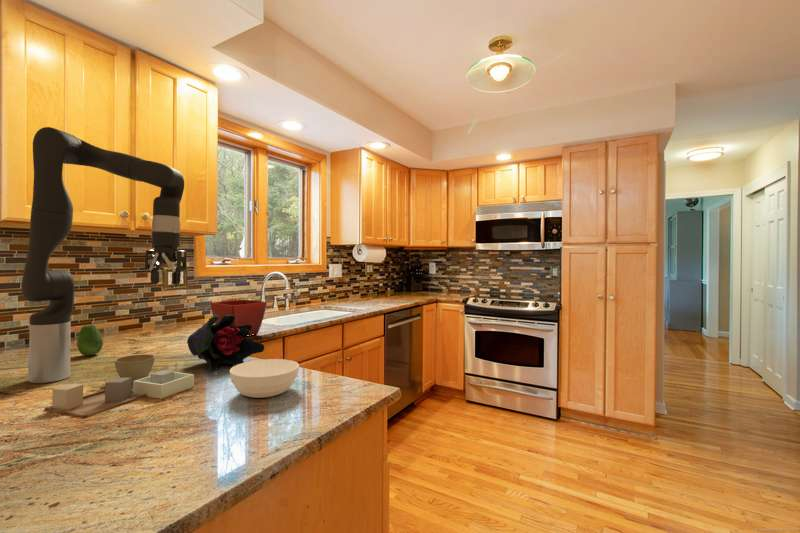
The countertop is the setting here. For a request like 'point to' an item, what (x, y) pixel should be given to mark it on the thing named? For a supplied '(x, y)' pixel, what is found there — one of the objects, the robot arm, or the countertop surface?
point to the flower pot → (134, 366)
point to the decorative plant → (222, 342)
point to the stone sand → (67, 396)
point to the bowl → (264, 377)
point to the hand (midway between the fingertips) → (165, 283)
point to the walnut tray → (94, 405)
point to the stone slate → (162, 377)
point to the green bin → (163, 386)
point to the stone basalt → (118, 389)
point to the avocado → (89, 340)
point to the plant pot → (241, 312)
